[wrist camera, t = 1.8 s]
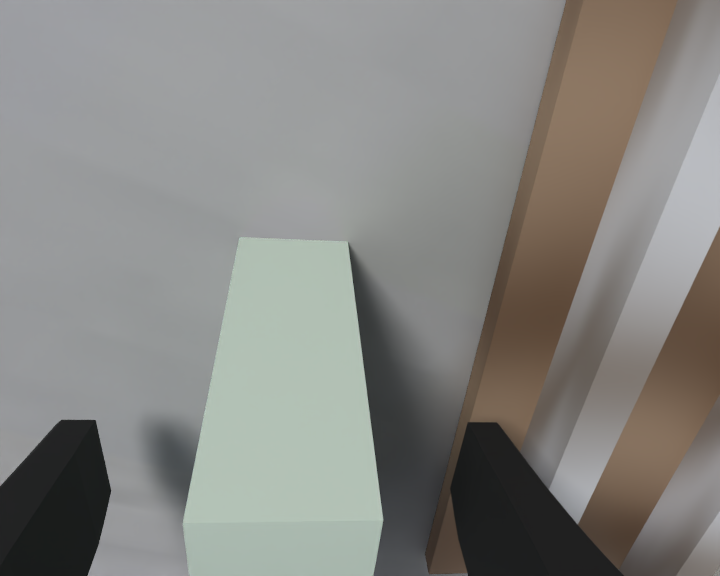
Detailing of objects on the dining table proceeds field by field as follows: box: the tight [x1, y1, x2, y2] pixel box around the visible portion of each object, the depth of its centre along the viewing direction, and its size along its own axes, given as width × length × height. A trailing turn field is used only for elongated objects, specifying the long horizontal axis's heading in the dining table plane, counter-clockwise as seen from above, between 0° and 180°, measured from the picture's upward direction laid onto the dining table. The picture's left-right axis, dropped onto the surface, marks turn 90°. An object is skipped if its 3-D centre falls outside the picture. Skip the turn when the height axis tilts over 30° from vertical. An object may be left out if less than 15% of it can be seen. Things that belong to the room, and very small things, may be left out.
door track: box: [425, 0, 720, 576], centre depth 12 cm, size 16×8×2 cm, turn 175°
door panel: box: [183, 237, 383, 576], centre depth 11 cm, size 8×2×6 cm, turn 175°
